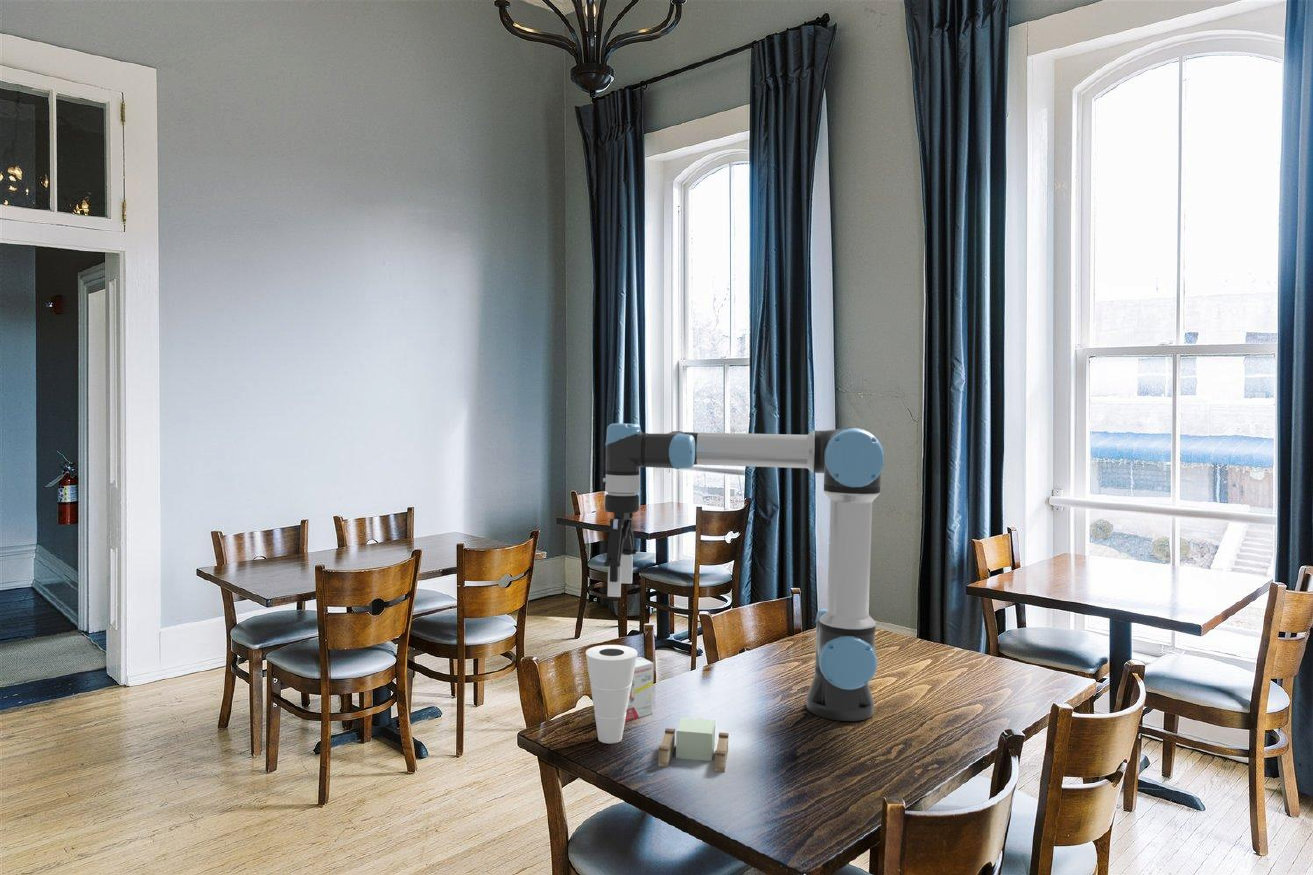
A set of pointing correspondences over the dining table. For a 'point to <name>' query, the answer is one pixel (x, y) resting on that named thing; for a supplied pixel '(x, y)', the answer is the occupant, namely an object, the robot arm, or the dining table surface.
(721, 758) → the light wood low frame
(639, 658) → the ink box
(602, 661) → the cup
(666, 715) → the dining table surface
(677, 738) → the block
